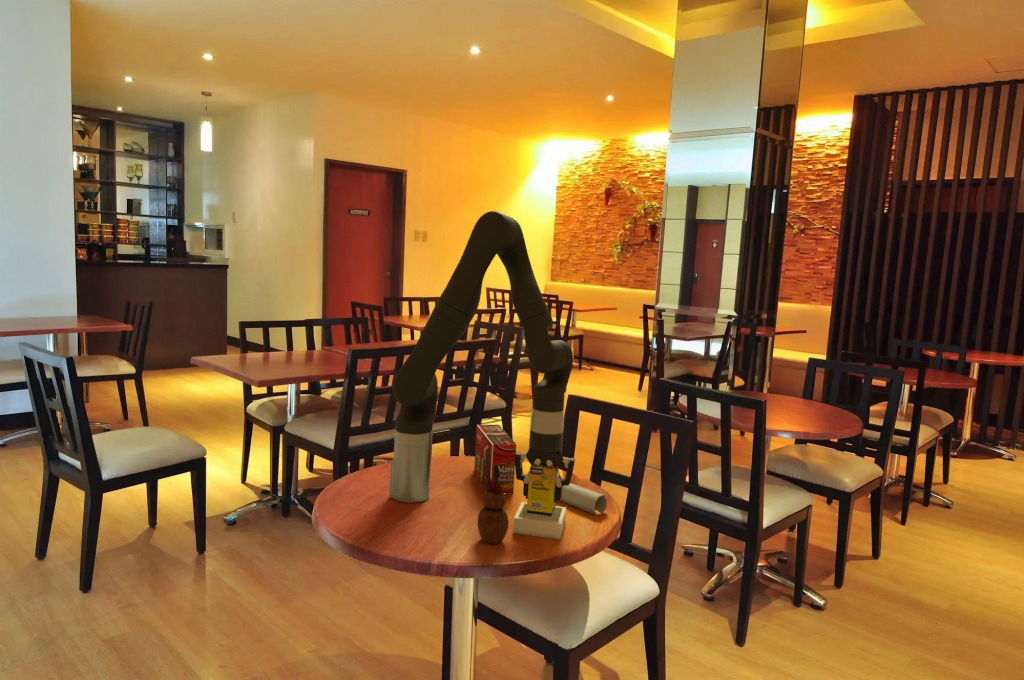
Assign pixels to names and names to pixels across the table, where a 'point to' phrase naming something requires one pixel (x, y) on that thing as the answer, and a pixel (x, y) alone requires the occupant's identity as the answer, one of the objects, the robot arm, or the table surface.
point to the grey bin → (539, 522)
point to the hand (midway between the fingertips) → (542, 499)
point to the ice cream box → (495, 456)
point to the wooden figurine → (493, 514)
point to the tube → (584, 498)
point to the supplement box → (541, 490)
